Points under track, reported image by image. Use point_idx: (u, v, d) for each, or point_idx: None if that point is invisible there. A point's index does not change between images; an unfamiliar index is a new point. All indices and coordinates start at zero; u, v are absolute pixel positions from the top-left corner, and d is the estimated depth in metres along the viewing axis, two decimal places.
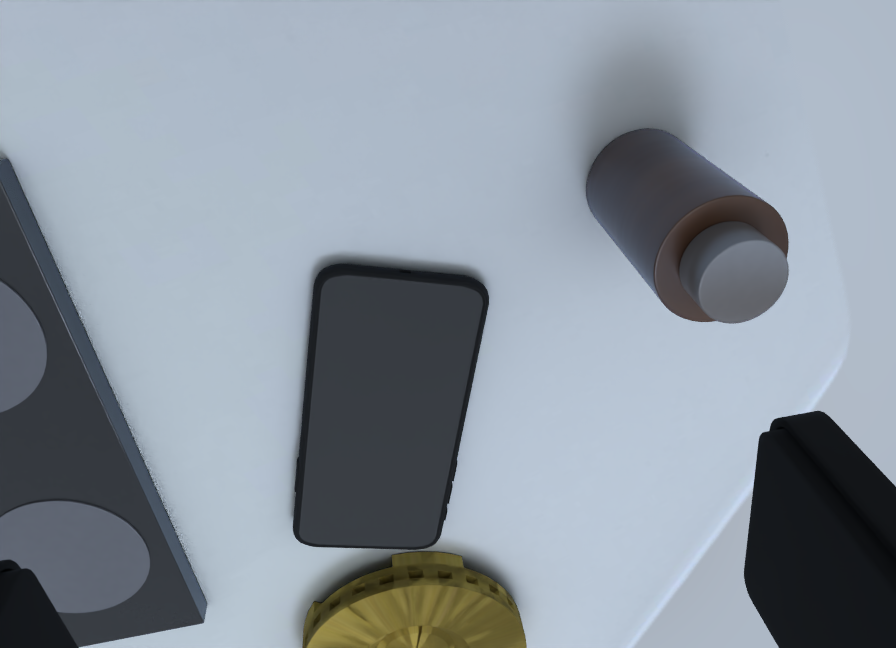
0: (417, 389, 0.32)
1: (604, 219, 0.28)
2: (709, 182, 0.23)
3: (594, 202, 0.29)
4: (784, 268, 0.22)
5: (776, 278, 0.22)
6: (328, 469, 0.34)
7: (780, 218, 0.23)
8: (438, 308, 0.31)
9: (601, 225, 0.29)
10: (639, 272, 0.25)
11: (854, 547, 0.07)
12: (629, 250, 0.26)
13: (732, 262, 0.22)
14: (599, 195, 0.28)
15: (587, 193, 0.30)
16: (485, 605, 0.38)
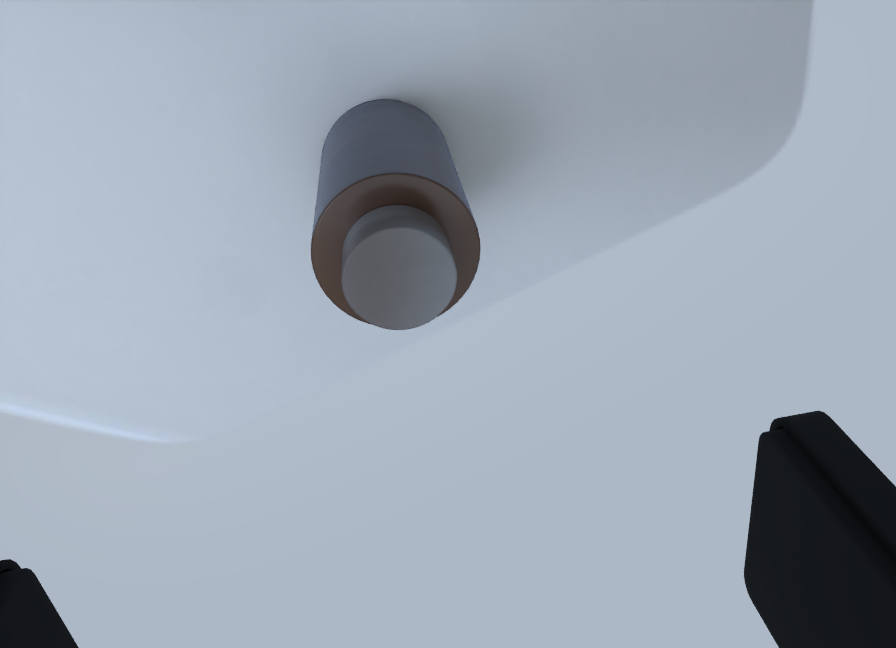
0: None
1: (368, 120, 0.23)
2: None
3: (375, 108, 0.24)
4: (418, 322, 0.19)
5: (405, 316, 0.19)
6: None
7: (449, 307, 0.20)
8: None
9: (344, 122, 0.24)
10: (348, 163, 0.20)
11: (854, 547, 0.07)
12: (370, 148, 0.20)
13: (428, 260, 0.18)
14: (391, 112, 0.23)
15: (375, 101, 0.24)
16: None
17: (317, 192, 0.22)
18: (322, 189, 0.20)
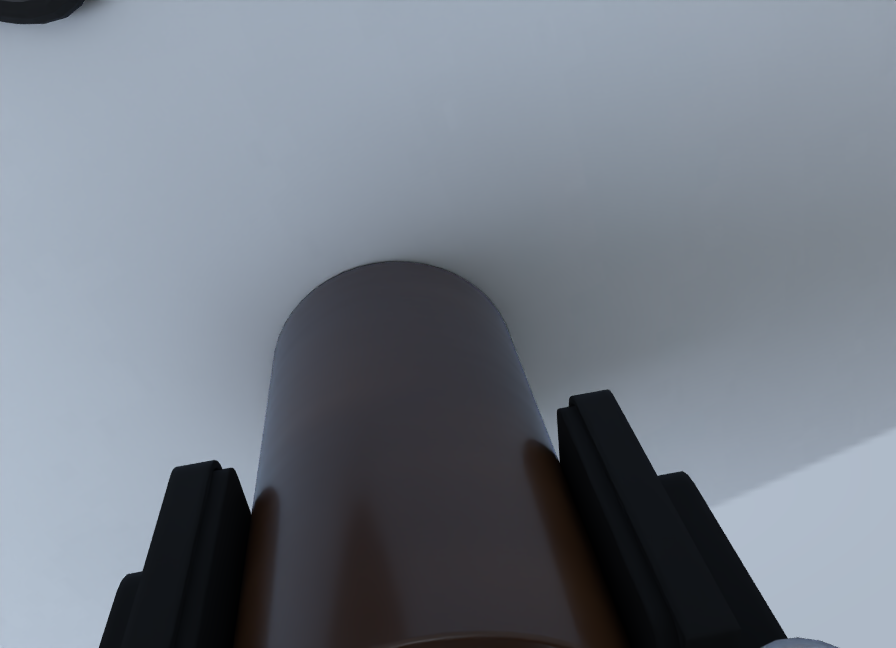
0: None
1: (365, 336, 0.11)
2: None
3: (377, 293, 0.12)
4: None
5: None
6: None
7: None
8: None
9: (315, 318, 0.12)
10: (316, 520, 0.08)
11: (599, 507, 0.08)
12: (371, 465, 0.08)
13: None
14: (410, 306, 0.11)
15: (376, 267, 0.12)
16: None
17: None
18: (254, 563, 0.08)
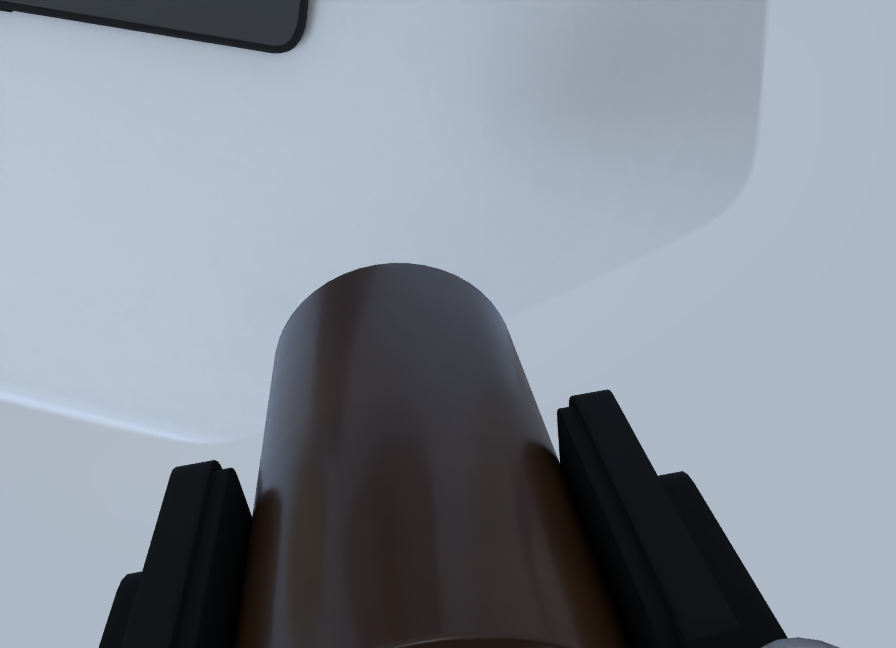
0: None
1: (366, 337, 0.11)
2: None
3: (377, 295, 0.12)
4: None
5: None
6: None
7: None
8: None
9: (316, 319, 0.12)
10: (318, 521, 0.08)
11: (599, 507, 0.08)
12: (372, 466, 0.08)
13: None
14: (411, 308, 0.11)
15: (376, 269, 0.12)
16: None
17: (252, 521, 0.10)
18: (256, 564, 0.08)
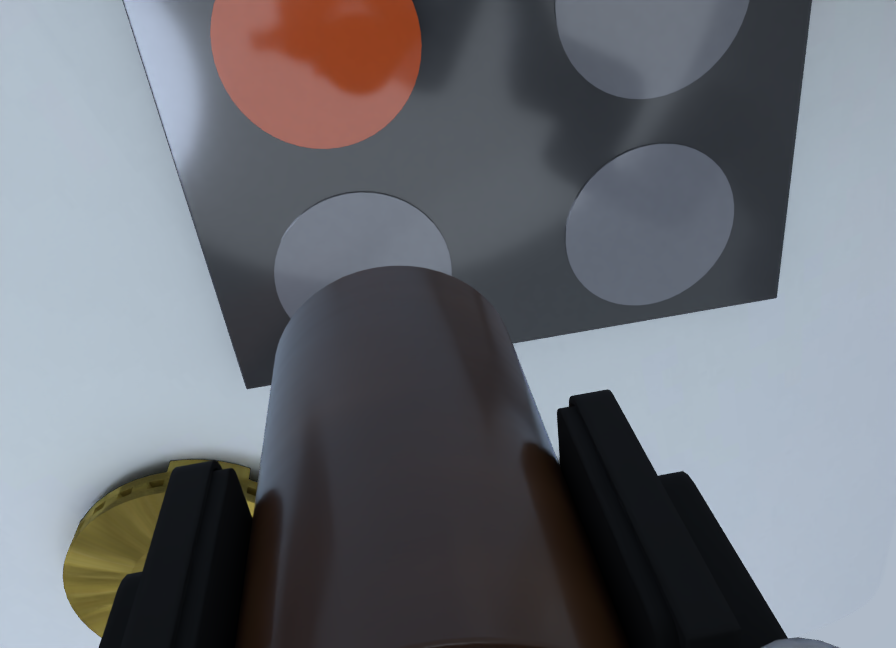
0: None
1: (366, 340, 0.11)
2: None
3: (378, 298, 0.12)
4: None
5: None
6: None
7: None
8: None
9: (316, 322, 0.12)
10: (318, 525, 0.08)
11: (600, 507, 0.08)
12: (372, 470, 0.08)
13: None
14: (411, 310, 0.11)
15: (376, 271, 0.12)
16: None
17: None
18: (256, 568, 0.08)
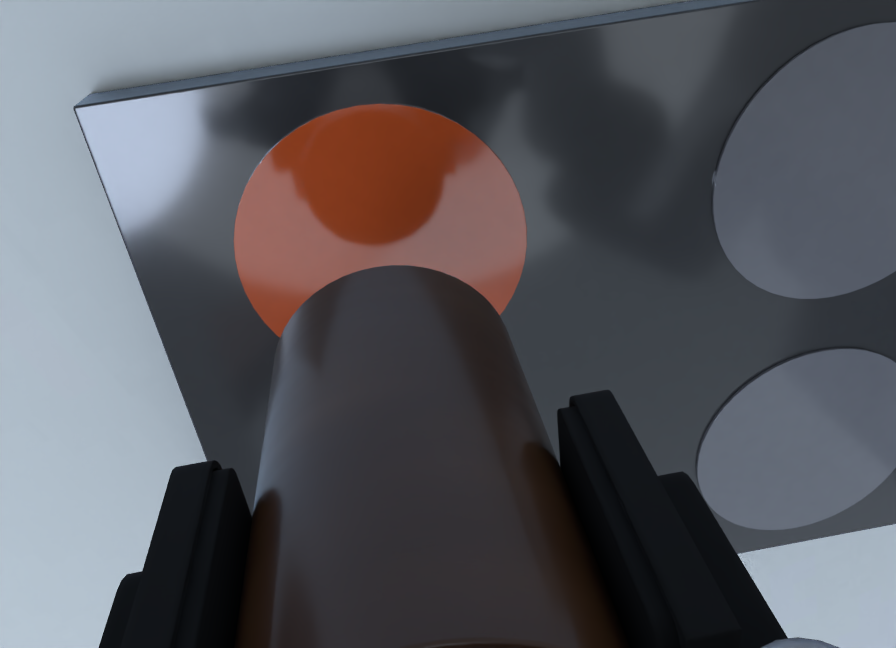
0: None
1: (365, 340, 0.11)
2: None
3: (377, 297, 0.12)
4: None
5: None
6: None
7: None
8: None
9: (315, 322, 0.12)
10: (317, 525, 0.08)
11: (599, 507, 0.08)
12: (372, 470, 0.08)
13: None
14: (411, 310, 0.11)
15: (376, 271, 0.12)
16: None
17: (251, 524, 0.10)
18: (255, 568, 0.08)
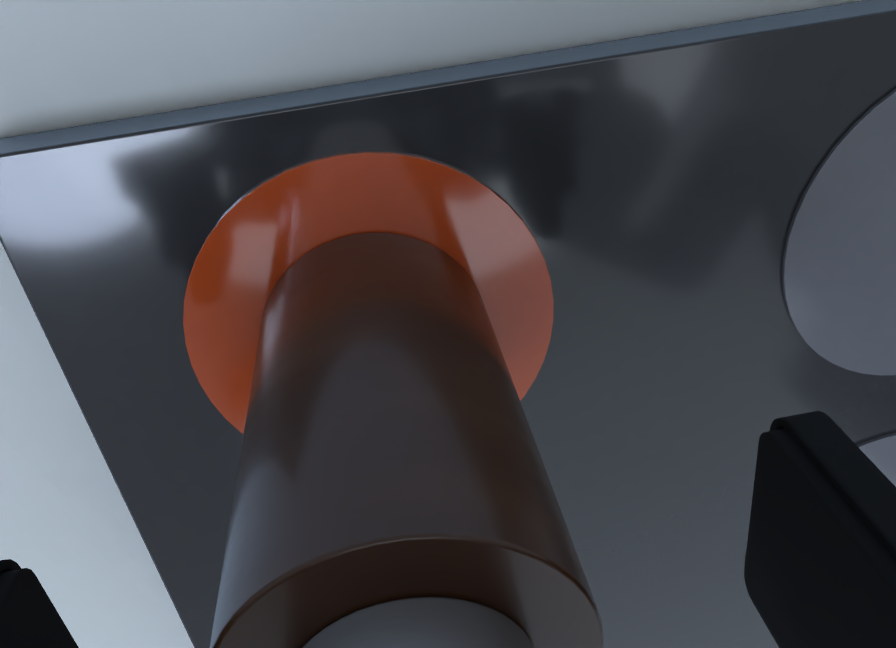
0: None
1: (345, 296, 0.11)
2: None
3: (356, 260, 0.13)
4: None
5: None
6: None
7: None
8: None
9: (299, 283, 0.13)
10: (297, 451, 0.09)
11: (854, 547, 0.07)
12: (347, 404, 0.09)
13: None
14: (387, 270, 0.12)
15: (356, 237, 0.13)
16: None
17: (239, 462, 0.10)
18: (242, 493, 0.09)
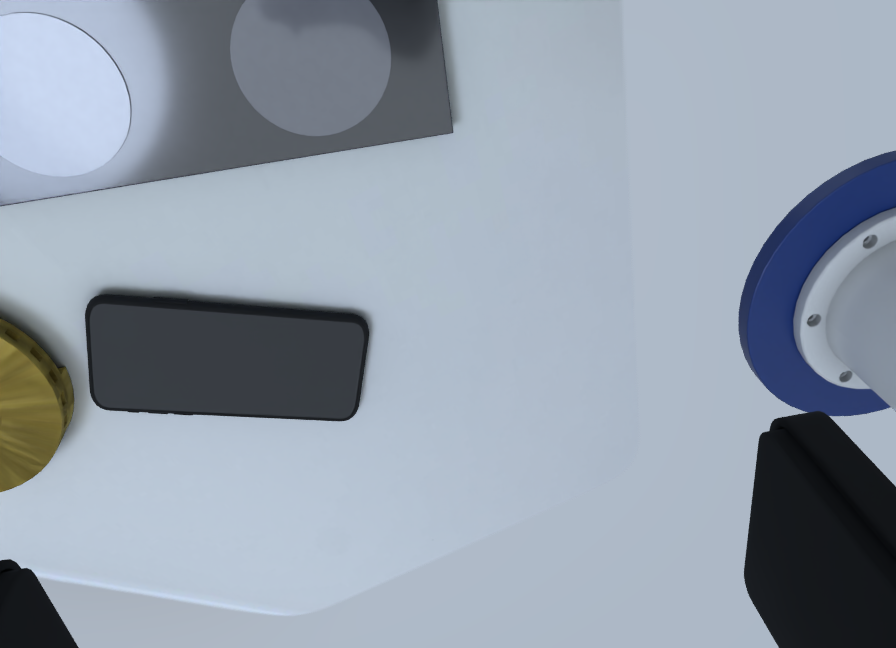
0: (267, 385, 0.43)
1: None
2: None
3: None
4: None
5: None
6: (182, 327, 0.40)
7: None
8: (337, 393, 0.44)
9: None
10: None
11: (854, 547, 0.07)
12: None
13: None
14: None
15: None
16: (37, 459, 0.42)
17: None
18: None
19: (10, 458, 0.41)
